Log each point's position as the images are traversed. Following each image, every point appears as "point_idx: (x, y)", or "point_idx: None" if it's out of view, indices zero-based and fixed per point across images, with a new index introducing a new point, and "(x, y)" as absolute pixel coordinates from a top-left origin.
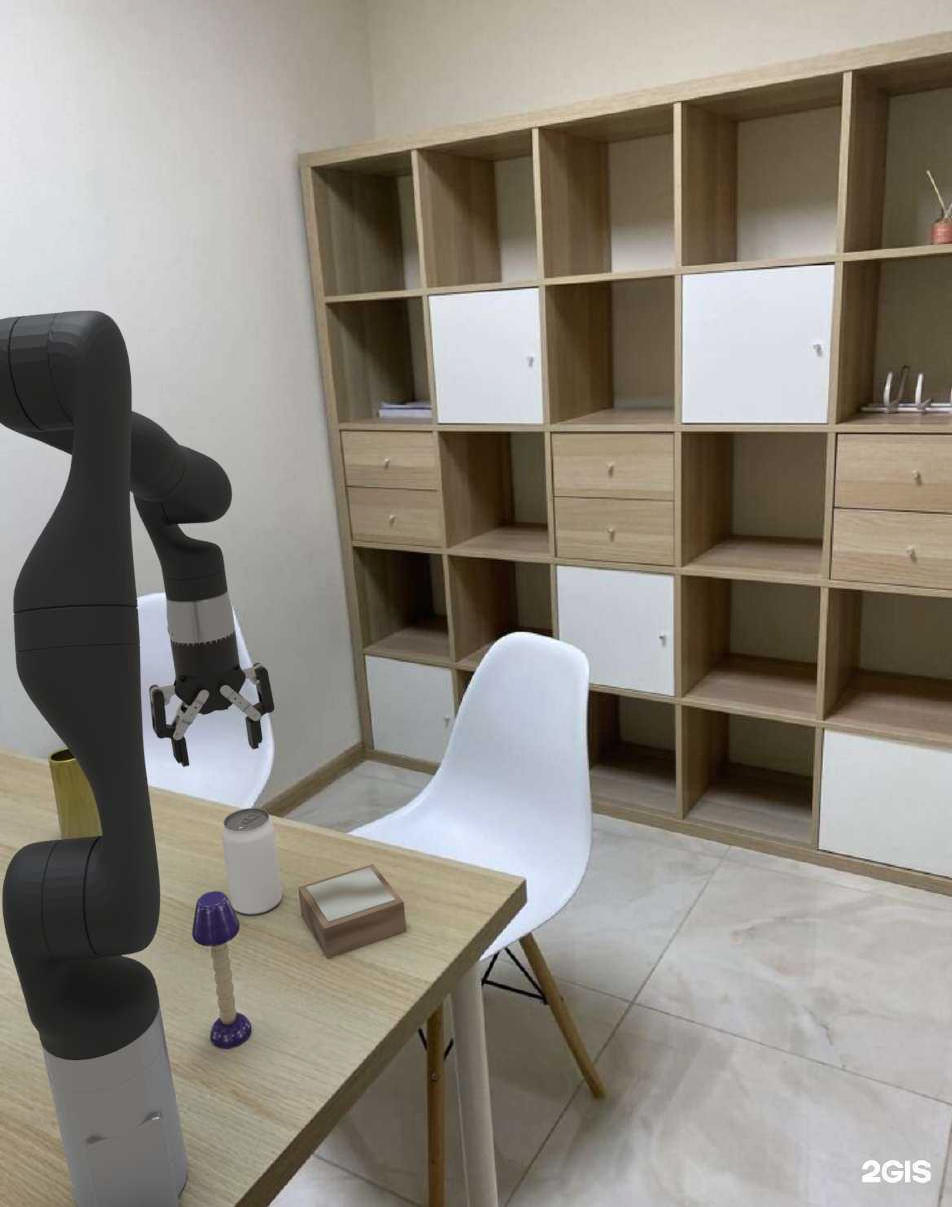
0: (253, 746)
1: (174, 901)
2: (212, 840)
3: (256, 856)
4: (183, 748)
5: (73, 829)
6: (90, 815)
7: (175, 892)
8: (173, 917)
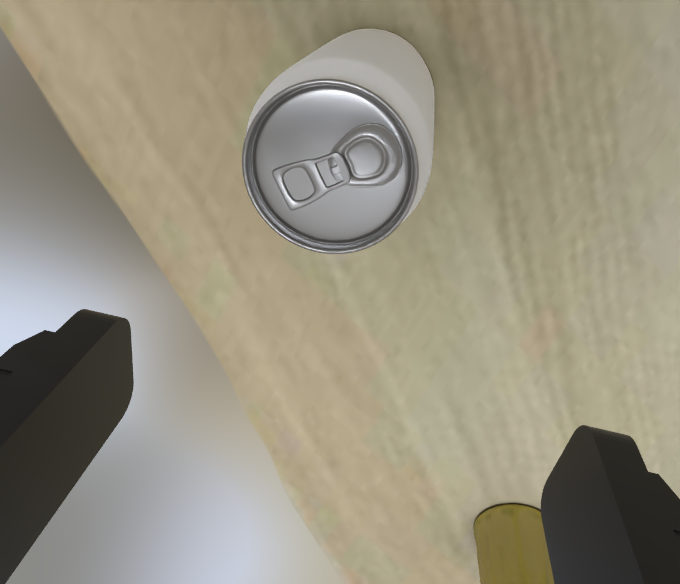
0: (110, 323)
1: (509, 245)
2: (331, 383)
3: (364, 50)
4: (667, 562)
5: (548, 558)
6: (515, 569)
7: (488, 274)
8: (549, 188)
